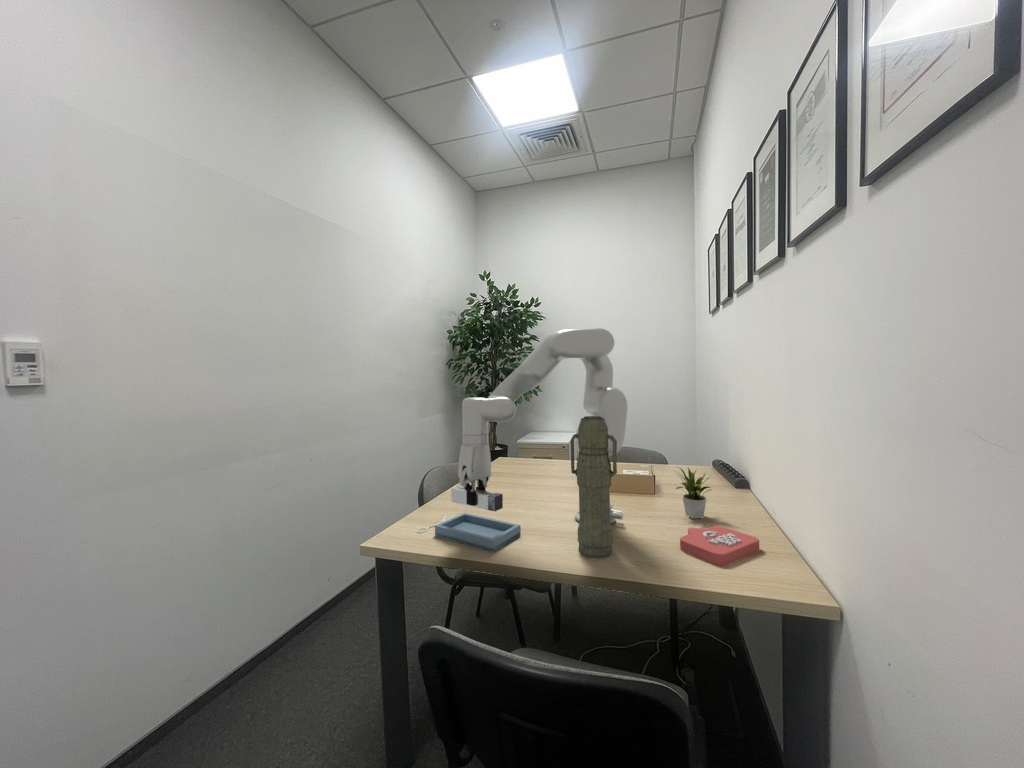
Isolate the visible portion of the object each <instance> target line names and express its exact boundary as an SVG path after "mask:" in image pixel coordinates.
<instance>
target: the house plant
mask: <svg viewBox="0 0 1024 768" xmlns="http://www.w3.org/2000/svg"><path fill="white" fill-rule="evenodd" d="M676 467H677V468H678V469H680V471H681V473H682V474H681V473H679V472H678V471H674V470H673V473H677V475H679V476H680V477H681V478H682V479H681V480H682V482H681V483H680V484H681V486H677V484H675V483H674V485H675V486H677V487H675V491H676V490H679V489H682V491H683V492H685V494H683V495H682V496H681V497H682V501H683V508H684V512H685V516H686V515H687V516H689V517H692V518H702V517H703V518H704V516H705V510H706V503H707V497H706V496H704V494H705V493H707V492H709V491H711V489H712V488H713V487H712V486H703V485H704V484H705V482H706V481H708V480H709V479H710V478H711V477H713V476H715V475H717V473H715V474H712V475H710V476H709V477H707V478H706V479H705V480H704V478H705V476H706V474H707V472H705V473H703V476H701V477H700V476H699V478H697V479H695V474H696V472H697V470H698V469H697V468H698V467H696V469H695V471H694V472H693V471H692V470H690V467H689V466H687V471H688V472H687V473H688V476H687V474H686V473H685V471H684V470H683V468H681V467H679V466H678V465H677V466H676ZM703 480H704V481H703ZM702 481H703V482H702ZM702 486H703V487H702ZM710 488H711V489H710ZM684 489H686V491H687V492H688V493H687V492H686V491H685V490H684ZM706 489H708V490H706ZM705 490H706V491H705ZM703 491H704V492H703ZM701 493H703V494H702V495H701ZM687 516H686V517H687ZM689 517H688V518H689ZM692 518H691V519H692ZM703 518H702V519H703Z"/></svg>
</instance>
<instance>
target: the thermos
mask: <svg viewBox="0 0 1024 768" xmlns="http://www.w3.org/2000/svg"><path fill="white" fill-rule="evenodd" d="M578 427H579V428H578ZM578 427H577V429H578V434H576V433H574V434H573V435H572V437H571V438H570V467H571V468H570V471H571V474H574V475H575V476H576V484H577V486H578V504H579V505H578V509H579V511H578V512H579V517H580V522H578V527H577V542H578V552H579V554H580V555H582V556H584V557H587V558H591V559H605V558H608V557H610V556H612V555H613V544H614V540H613V539H614V536H613V528H612V525H611V524H610V505H611V498H610V497H611V491H610V490H611V489H609V488H611V486H612V478H613V477H614V476H615V475H617V474H618V468H617V463H618V461H617V460H618V459H617V453H618V452H617V441H616V439H615V438H614V436H612V435H609V434H608V428H607V425H606V422H605V419H604V418H602V417H600V416H592V415H589V416H588V415H587V416H583V417H581V418H580V421H579V424H578ZM576 438H577V439H578V441H579V455H578V458H577V461H576V468H575V440H576ZM608 439H611V441H612V442H613V455H612V463H611V460H610V458H609V455H608V452H607V447H608Z"/></svg>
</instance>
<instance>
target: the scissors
mask: <svg viewBox="0 0 1024 768" xmlns="http://www.w3.org/2000/svg"><path fill="white" fill-rule="evenodd" d="M458 515H460V514H459V513H455V515H453V516H451V517H449V518H447V516H448V513H446V514H445V515H444V517H443V518H442V519H441V521H439V522H438V523H435V524H434V525H430V526H428V527H421V528H418V529H417V530H416V533H417V534H422V533H423V534H424V533H426V532H429V529H431V528H433V527H434V528H435V525H438V524H440V523H442V522H445V521H447V520H449V519H451V518H454V517H456V516H458ZM421 530H422V531H421Z"/></svg>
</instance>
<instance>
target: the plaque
mask: <svg viewBox="0 0 1024 768" xmlns="http://www.w3.org/2000/svg"><path fill="white" fill-rule="evenodd" d="M679 549H680V550H681V551H682V553H683V552H684V553H686V554H688V555H690V556H693V557H695V558H698V559H700V560H703V561H705V562H707V563H710V564H712V565H715V566H720V567H724V566H728V565H729V564H733V563H735V562H738V561H740V560H742V559H745V558H747V557H749V556H752V555H754V554H757V553H759V552H760V539H759V537H758V538H757V537H756V536H753V535H750V534H747V533H743V532H741V531H738V530H735V529H731V528H728V527H726V526H722V525H714V526H712V527H711V526H710V527H708V528H702V527H701V528H698V527H689V528H688V529H687V535H686V534H685V535H684V536H681V537H679Z"/></svg>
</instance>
